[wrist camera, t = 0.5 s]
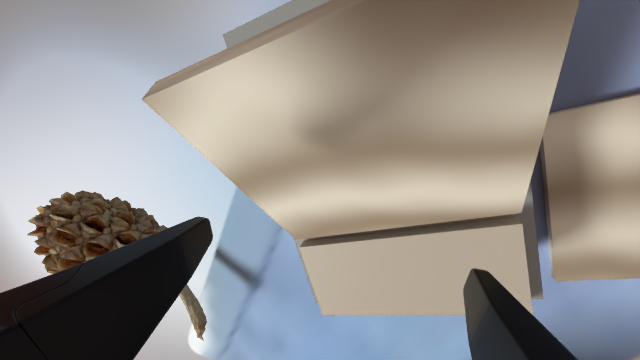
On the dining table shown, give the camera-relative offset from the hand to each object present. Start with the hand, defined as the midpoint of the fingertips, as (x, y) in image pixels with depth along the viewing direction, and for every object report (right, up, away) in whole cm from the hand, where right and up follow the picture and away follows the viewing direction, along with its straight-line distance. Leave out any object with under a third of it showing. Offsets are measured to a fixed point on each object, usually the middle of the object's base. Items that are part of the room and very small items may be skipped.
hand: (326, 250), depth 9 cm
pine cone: (-19, -5, +25) cm, 32 cm away
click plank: (+2, +4, +4) cm, 6 cm away
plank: (+20, +2, +10) cm, 22 cm away
